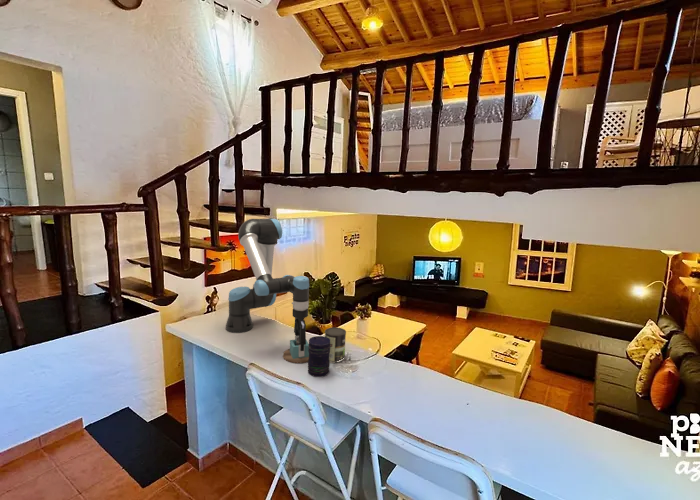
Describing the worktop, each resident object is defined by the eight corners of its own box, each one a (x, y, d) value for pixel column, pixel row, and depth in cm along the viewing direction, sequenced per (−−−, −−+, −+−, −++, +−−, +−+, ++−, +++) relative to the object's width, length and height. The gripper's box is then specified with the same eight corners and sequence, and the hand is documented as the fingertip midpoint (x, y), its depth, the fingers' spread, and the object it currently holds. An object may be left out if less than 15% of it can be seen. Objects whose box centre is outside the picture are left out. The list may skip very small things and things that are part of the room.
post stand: (280, 350, 180) (280, 333, 178) (311, 346, 186) (311, 330, 184) (286, 365, 165) (286, 347, 164) (319, 361, 171) (319, 343, 169)
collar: (289, 351, 178) (289, 340, 177) (305, 349, 180) (305, 338, 179) (292, 358, 170) (293, 347, 169) (309, 356, 173) (309, 345, 172)
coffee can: (345, 354, 180) (346, 327, 177) (344, 363, 169) (345, 336, 167) (324, 352, 180) (325, 326, 177) (322, 362, 170) (323, 334, 167)
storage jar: (333, 371, 161) (335, 341, 159) (317, 379, 154) (318, 347, 152) (319, 363, 168) (320, 334, 166) (303, 370, 161) (303, 340, 158)
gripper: (288, 302, 180) (287, 343, 184) (297, 316, 160) (296, 363, 164) (303, 301, 182) (302, 342, 186) (313, 315, 163) (312, 361, 167)
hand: (299, 352), depth 175 cm, fingers open, 9 cm apart
